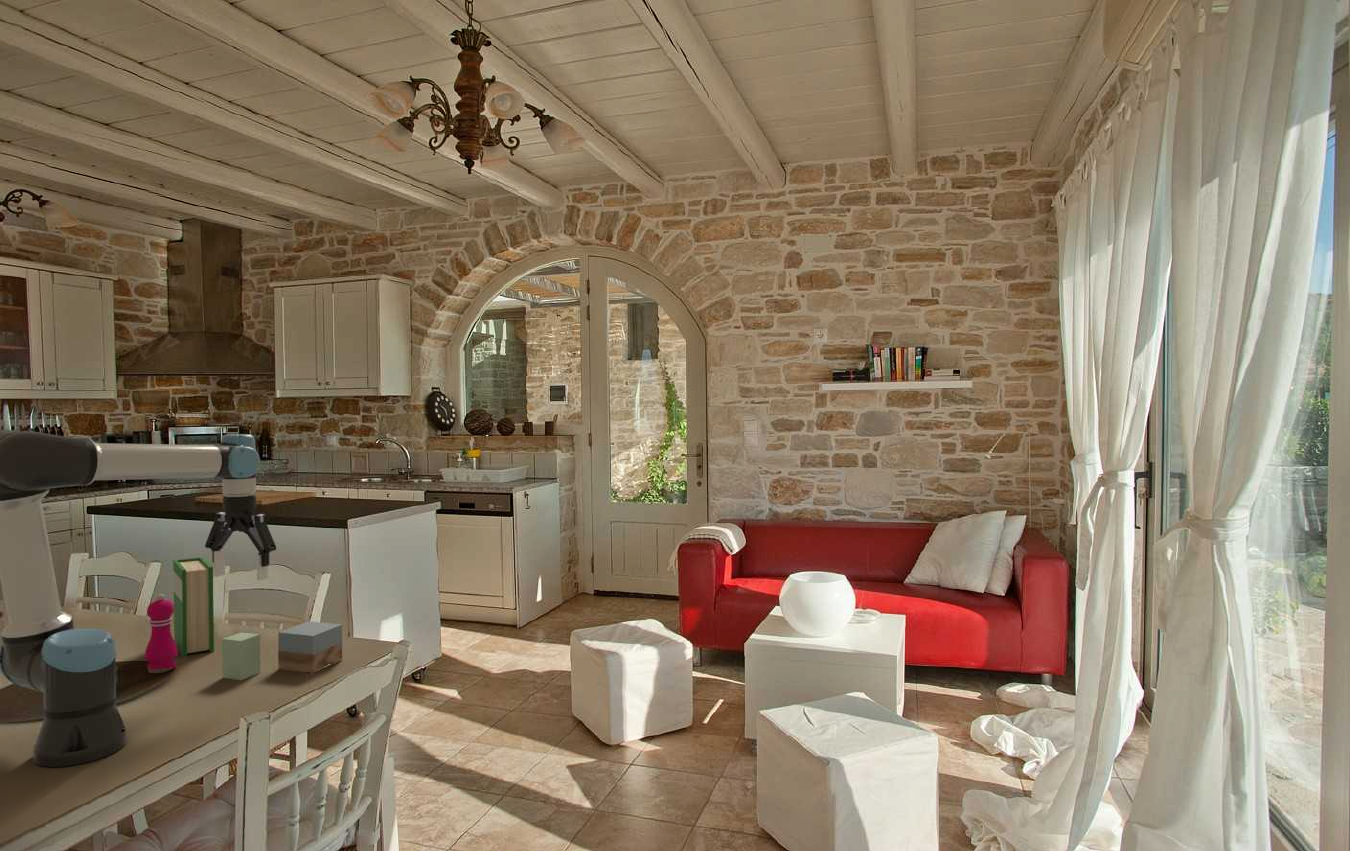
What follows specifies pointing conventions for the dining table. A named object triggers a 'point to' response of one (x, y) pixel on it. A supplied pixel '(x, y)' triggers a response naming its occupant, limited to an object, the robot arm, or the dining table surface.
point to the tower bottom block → (309, 659)
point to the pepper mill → (161, 635)
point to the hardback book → (193, 605)
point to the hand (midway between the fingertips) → (240, 577)
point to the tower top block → (310, 638)
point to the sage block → (241, 656)
